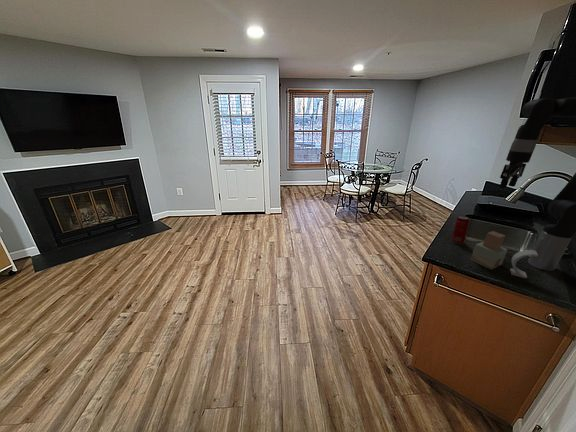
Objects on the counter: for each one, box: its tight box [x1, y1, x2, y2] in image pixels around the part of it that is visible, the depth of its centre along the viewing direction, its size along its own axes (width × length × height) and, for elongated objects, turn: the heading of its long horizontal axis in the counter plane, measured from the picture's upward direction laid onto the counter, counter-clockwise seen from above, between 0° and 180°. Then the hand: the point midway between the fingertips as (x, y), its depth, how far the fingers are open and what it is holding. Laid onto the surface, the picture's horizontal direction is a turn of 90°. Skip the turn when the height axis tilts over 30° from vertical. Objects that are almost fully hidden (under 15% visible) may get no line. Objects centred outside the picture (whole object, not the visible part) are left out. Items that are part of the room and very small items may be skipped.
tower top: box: [472, 241, 509, 262], centre depth 112 cm, size 9×9×4 cm
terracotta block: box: [482, 230, 506, 250], centre depth 110 cm, size 5×5×6 cm
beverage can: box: [451, 215, 470, 245], centre depth 131 cm, size 6×6×15 cm
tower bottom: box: [470, 252, 506, 270], centre depth 113 cm, size 9×9×4 cm
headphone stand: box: [509, 249, 538, 279], centre depth 104 cm, size 5×6×12 cm
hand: (506, 187), depth 107 cm, fingers open, 8 cm apart
